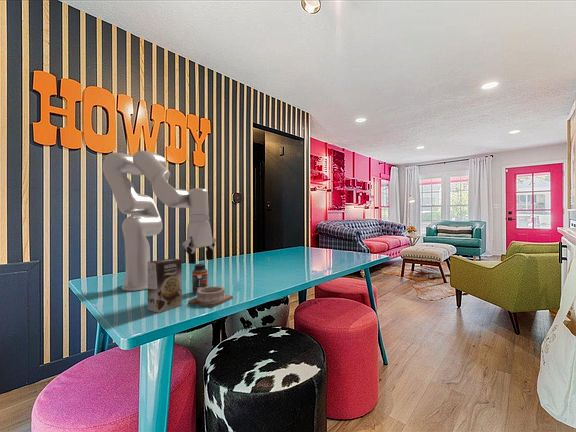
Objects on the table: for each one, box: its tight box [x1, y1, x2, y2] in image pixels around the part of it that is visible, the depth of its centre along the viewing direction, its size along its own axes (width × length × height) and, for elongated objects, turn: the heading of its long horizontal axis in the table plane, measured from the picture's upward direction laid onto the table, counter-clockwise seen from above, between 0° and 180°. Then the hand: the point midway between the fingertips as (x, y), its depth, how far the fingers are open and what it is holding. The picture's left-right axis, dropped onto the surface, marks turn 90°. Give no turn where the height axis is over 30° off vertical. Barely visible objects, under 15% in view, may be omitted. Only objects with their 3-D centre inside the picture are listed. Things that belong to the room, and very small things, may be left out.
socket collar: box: [187, 285, 234, 308], centre depth 101 cm, size 11×11×4 cm
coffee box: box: [147, 258, 183, 314], centre depth 94 cm, size 9×6×16 cm
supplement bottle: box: [191, 263, 209, 295], centre depth 113 cm, size 6×6×11 cm
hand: (201, 261), depth 113 cm, fingers open, 9 cm apart
